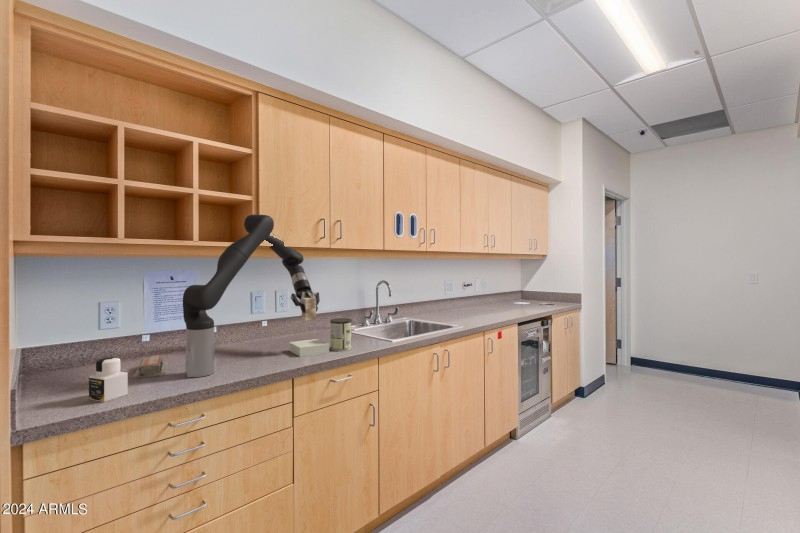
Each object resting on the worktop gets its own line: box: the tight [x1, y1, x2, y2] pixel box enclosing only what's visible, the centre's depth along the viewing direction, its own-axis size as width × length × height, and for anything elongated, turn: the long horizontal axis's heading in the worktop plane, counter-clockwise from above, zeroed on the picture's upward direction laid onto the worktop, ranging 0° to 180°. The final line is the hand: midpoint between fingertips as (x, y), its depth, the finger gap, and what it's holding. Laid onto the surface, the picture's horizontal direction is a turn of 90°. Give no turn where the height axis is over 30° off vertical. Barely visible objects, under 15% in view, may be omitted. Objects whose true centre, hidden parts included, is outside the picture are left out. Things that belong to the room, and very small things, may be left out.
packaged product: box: [132, 354, 168, 380], centre depth 147 cm, size 18×5×10 cm
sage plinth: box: [288, 338, 330, 357], centre depth 179 cm, size 14×14×4 cm
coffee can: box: [329, 317, 353, 352], centre depth 186 cm, size 10×10×14 cm
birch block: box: [301, 298, 317, 322], centre depth 179 cm, size 5×5×10 cm
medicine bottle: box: [88, 356, 129, 403], centre depth 119 cm, size 7×7×12 cm
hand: (310, 311), depth 178 cm, fingers closed on birch block, 5 cm apart
